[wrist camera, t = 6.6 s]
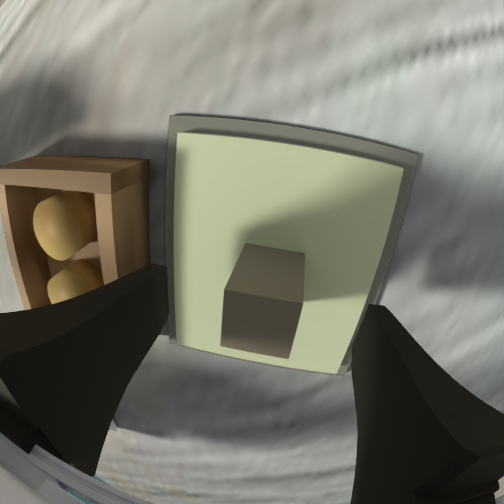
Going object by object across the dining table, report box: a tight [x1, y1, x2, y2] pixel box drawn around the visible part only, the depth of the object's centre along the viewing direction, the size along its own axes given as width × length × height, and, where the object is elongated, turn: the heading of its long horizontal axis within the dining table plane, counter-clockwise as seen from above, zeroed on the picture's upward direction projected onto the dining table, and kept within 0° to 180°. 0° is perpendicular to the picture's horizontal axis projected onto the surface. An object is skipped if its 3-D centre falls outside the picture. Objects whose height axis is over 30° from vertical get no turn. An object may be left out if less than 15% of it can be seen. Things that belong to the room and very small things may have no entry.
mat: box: [165, 115, 419, 376], centre depth 13 cm, size 12×10×1 cm
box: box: [0, 156, 150, 310], centre depth 13 cm, size 10×8×3 cm
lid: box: [174, 132, 404, 374], centre depth 11 cm, size 11×9×4 cm
